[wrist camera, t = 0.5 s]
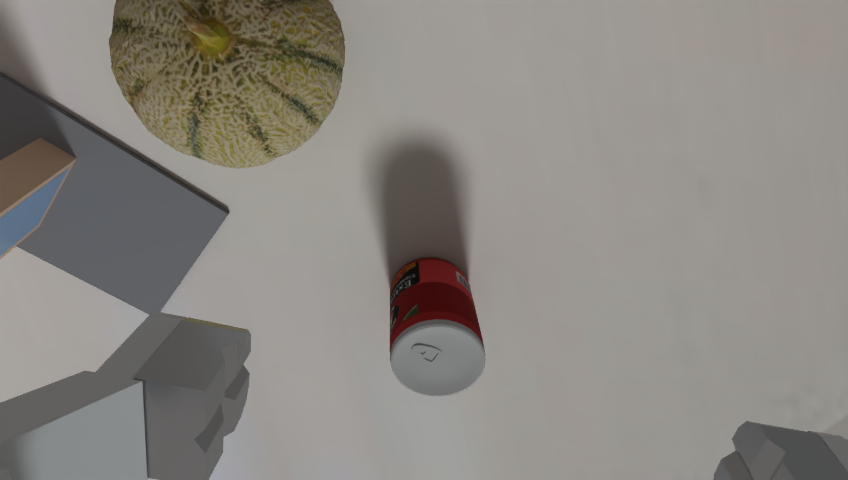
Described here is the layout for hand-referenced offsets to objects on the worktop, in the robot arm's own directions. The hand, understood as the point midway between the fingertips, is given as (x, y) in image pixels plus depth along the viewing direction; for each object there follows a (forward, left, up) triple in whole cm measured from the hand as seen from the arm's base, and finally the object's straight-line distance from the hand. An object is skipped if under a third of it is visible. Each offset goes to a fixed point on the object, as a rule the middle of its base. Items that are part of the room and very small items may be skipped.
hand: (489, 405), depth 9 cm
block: (+11, -32, -40) cm, 52 cm away
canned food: (+24, +1, -40) cm, 47 cm away
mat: (+14, -29, -40) cm, 51 cm away
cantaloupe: (0, -12, -40) cm, 42 cm away
